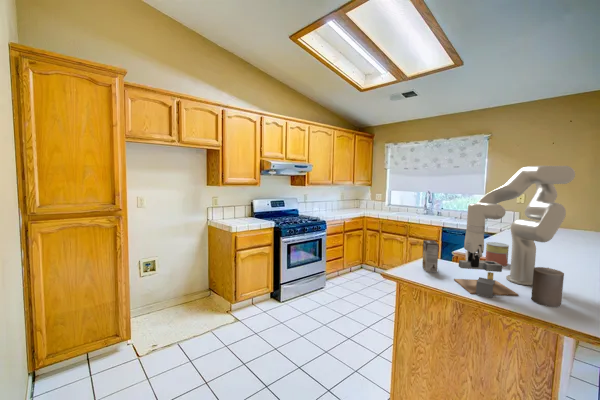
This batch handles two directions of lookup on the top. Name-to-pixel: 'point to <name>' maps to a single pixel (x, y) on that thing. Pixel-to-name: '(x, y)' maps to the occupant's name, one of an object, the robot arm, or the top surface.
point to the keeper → (485, 287)
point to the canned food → (497, 253)
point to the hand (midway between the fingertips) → (473, 265)
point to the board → (497, 287)
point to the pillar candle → (547, 286)
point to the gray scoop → (481, 265)
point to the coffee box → (430, 255)
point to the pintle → (490, 275)
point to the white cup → (467, 255)
